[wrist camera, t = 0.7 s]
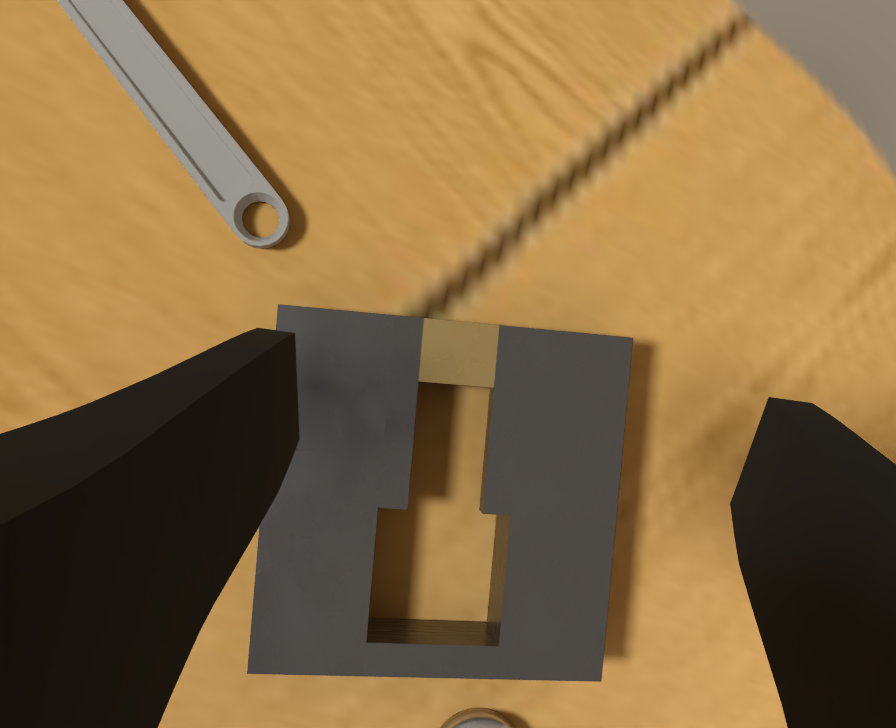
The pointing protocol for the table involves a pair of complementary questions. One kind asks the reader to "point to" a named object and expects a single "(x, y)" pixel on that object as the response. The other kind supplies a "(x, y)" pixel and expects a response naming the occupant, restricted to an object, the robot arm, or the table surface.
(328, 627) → the keyhole plate
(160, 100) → the adjustable wrench
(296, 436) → the robot arm
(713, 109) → the table surface
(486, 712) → the steel peg
